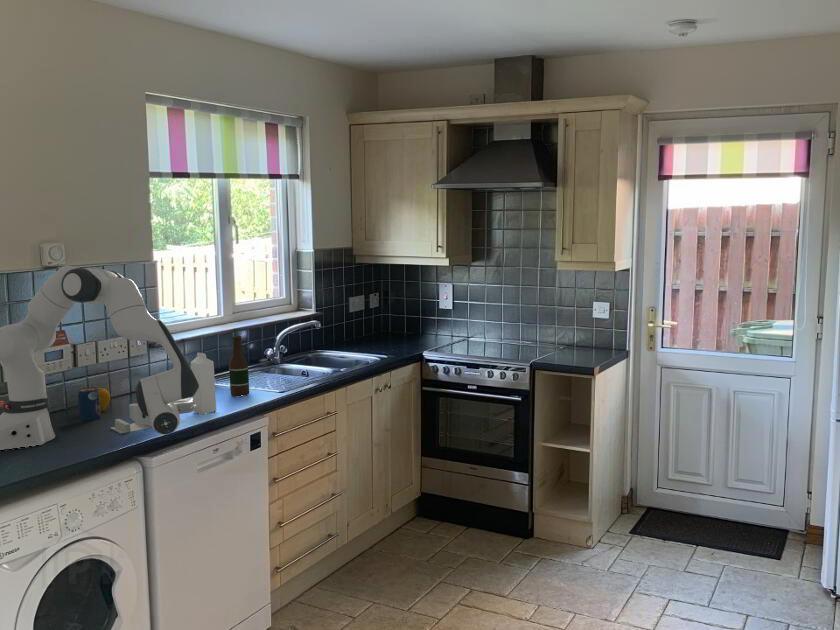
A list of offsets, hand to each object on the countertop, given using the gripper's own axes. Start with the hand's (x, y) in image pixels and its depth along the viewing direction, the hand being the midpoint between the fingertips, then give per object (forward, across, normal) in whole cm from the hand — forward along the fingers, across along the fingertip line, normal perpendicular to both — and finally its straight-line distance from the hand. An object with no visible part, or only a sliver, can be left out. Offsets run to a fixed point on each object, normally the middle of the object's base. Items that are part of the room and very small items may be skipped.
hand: (161, 402), depth 264 cm
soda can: (+28, +24, +10) cm, 38 cm away
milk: (+25, -16, +11) cm, 32 cm away
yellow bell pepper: (+45, +21, +10) cm, 51 cm away
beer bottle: (+49, -32, +11) cm, 59 cm away
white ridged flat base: (+9, +5, +10) cm, 15 cm away
